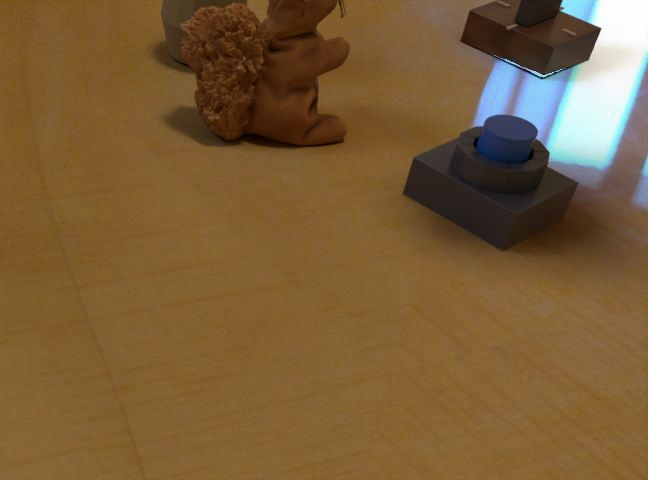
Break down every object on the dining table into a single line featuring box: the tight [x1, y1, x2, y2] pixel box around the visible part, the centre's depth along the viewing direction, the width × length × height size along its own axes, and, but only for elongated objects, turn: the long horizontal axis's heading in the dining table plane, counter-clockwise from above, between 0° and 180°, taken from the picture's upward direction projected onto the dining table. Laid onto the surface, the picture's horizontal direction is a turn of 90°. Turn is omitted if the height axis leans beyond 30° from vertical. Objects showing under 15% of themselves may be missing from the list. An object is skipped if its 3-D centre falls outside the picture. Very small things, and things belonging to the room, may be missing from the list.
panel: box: [460, 0, 602, 75], centre depth 99 cm, size 10×9×3 cm
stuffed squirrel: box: [179, 0, 351, 146], centre depth 83 cm, size 10×14×13 cm
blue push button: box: [476, 114, 539, 163], centre depth 76 cm, size 4×4×2 cm
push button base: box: [402, 125, 579, 252], centre depth 79 cm, size 10×8×5 cm
